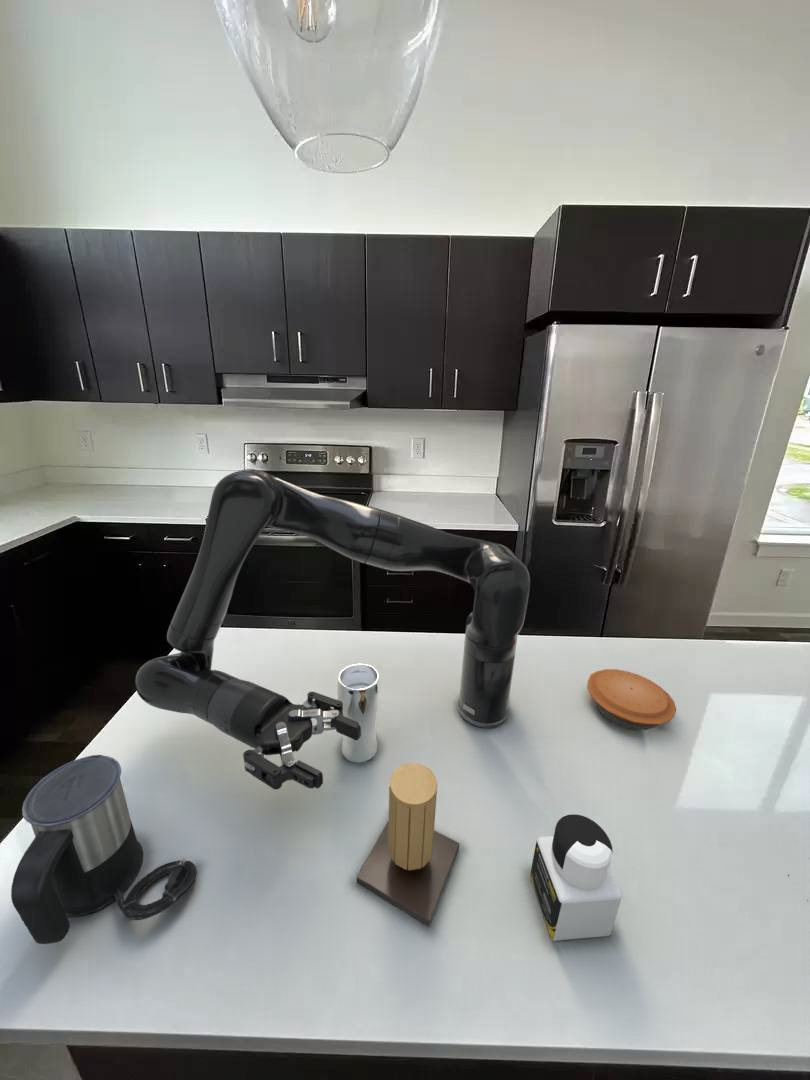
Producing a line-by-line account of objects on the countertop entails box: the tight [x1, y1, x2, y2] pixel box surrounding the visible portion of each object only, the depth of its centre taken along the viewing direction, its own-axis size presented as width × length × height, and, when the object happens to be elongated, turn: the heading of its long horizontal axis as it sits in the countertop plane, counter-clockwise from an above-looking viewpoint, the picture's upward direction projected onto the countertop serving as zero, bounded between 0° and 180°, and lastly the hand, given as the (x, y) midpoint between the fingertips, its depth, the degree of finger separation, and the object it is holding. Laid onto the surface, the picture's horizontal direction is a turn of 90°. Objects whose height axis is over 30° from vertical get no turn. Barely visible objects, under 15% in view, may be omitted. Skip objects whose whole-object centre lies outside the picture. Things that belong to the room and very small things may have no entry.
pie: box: [586, 668, 677, 731], centre depth 83 cm, size 16×16×5 cm
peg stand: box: [356, 820, 460, 928], centre depth 53 cm, size 10×10×14 cm
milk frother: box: [10, 754, 198, 945], centre depth 50 cm, size 14×16×15 cm
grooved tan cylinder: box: [388, 762, 438, 870], centre depth 52 cm, size 6×6×11 cm
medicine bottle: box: [529, 813, 623, 942], centre depth 50 cm, size 7×7×12 cm
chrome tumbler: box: [336, 663, 381, 764], centre depth 70 cm, size 7×7×15 cm
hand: (341, 755), depth 55 cm, fingers open, 8 cm apart
